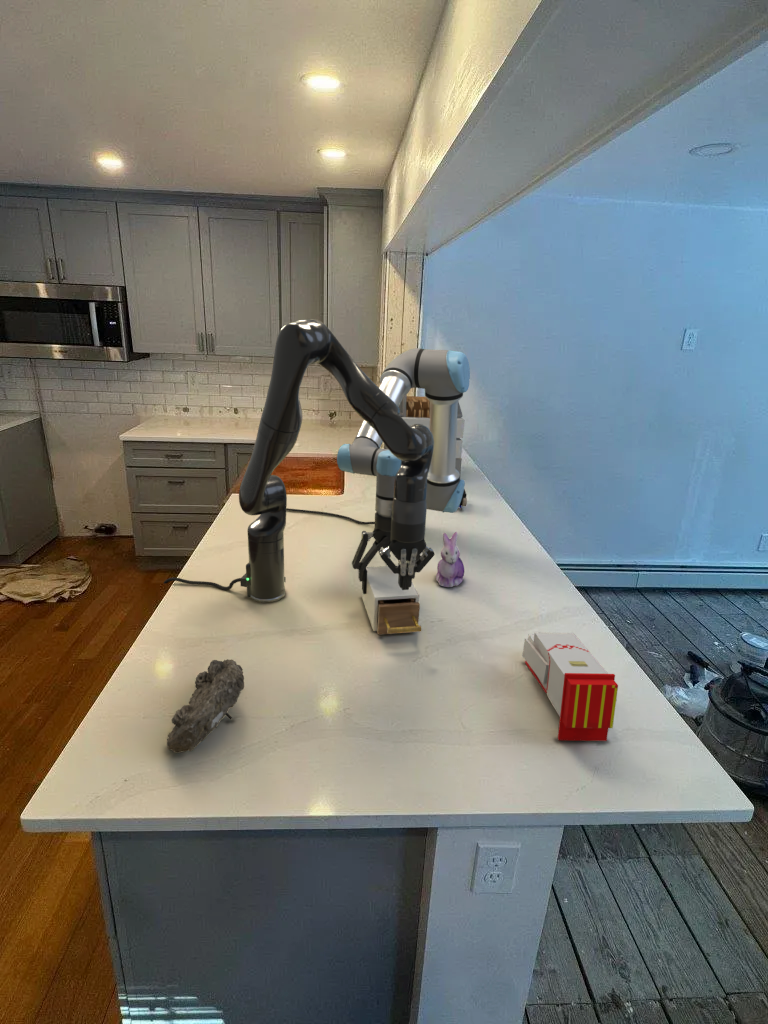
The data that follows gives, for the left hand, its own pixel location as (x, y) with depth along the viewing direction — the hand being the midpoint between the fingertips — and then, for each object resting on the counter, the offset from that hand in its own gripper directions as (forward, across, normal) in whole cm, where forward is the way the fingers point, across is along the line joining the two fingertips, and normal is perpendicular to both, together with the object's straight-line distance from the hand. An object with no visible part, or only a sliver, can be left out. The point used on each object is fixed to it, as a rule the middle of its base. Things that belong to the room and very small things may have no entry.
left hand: (404, 588), depth 129 cm
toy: (+15, +29, -23) cm, 40 cm away
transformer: (+14, +42, +144) cm, 151 cm away
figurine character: (+14, +45, +95) cm, 106 cm away
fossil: (+15, -42, -19) cm, 48 cm away
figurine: (+15, +22, +30) cm, 40 cm away
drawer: (+14, 0, +8) cm, 16 cm away
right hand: (+10, 0, +19) cm, 21 cm away
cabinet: (+15, 0, +15) cm, 21 cm away
